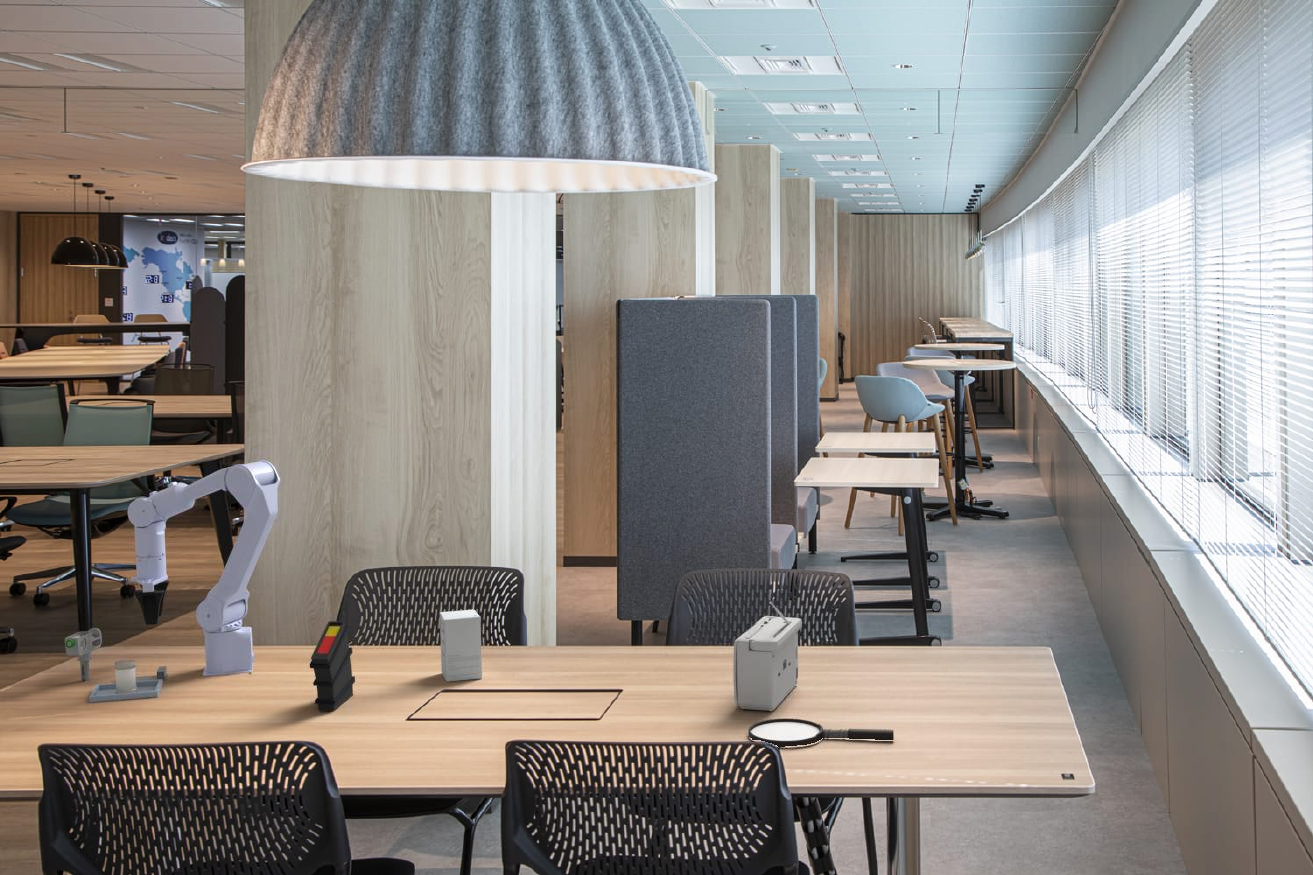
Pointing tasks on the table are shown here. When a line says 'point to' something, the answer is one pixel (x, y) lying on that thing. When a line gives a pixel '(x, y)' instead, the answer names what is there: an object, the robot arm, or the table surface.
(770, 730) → the magnifying glass
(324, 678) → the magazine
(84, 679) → the mechanical component
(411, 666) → the table surface
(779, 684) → the stereo radio cassette player
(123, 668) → the white cylindrical jar
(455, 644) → the supplement box
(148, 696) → the tray
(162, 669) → the holder
